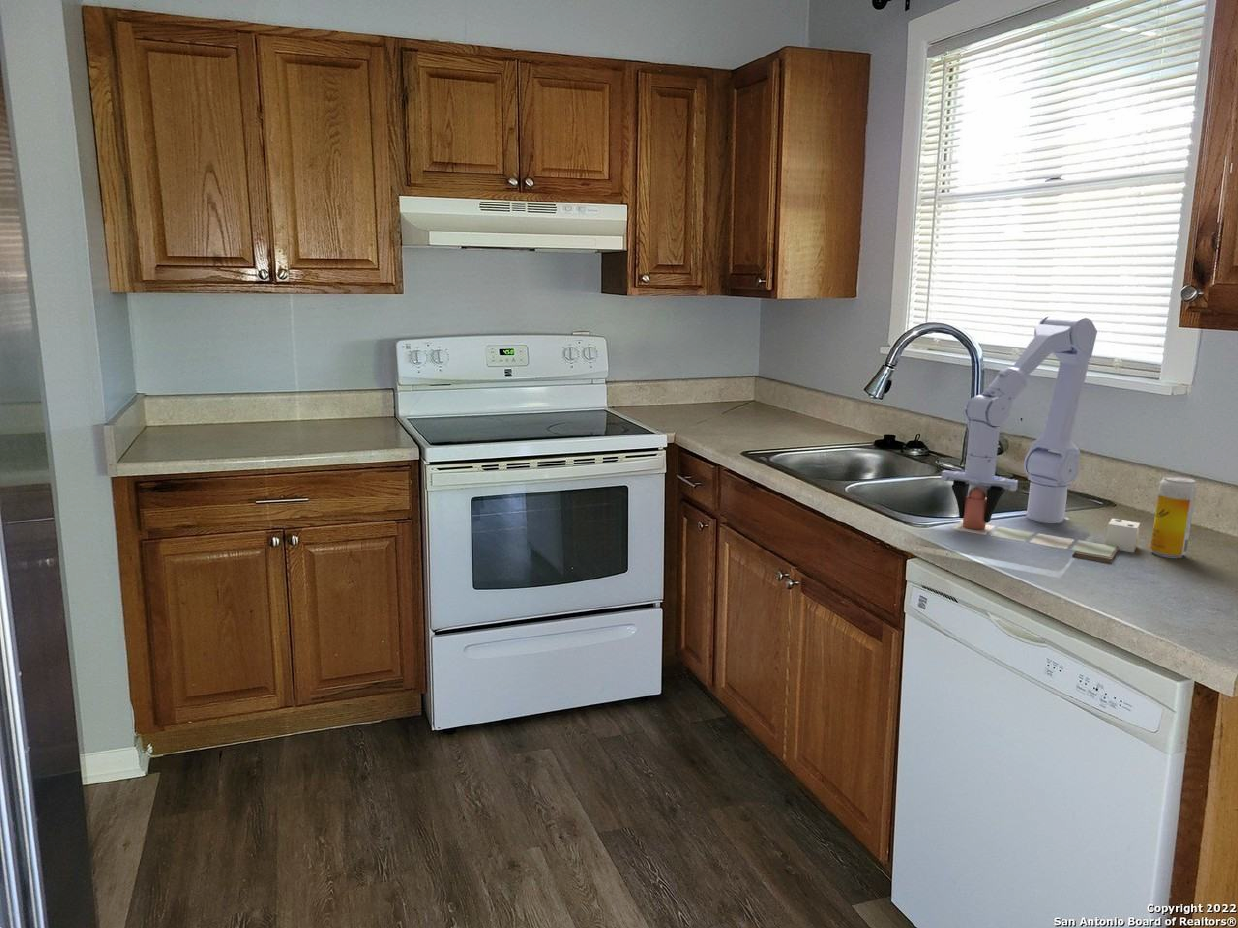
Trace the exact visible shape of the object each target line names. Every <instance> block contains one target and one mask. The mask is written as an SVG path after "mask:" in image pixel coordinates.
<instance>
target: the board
mask: <svg viewBox="0 0 1238 928" xmlns="http://www.w3.org/2000/svg"><path fill="white" fill-rule="evenodd" d="M996 527H997V526H996V525H993V524H992V525H991V524H988V523H986V526H985V528H984V529H972V528H967V527H965V526H963V519H962V520H961V521H959V522H958V523H957V524H955V525H954V526H953V527H951V528H950V529H951V530H955V531H961V532H967V533H972V534H973V533H974V534H978V535H982V536H983V535H988V534H989V533H990V532H991V531H992V530H993V529H995V528H996ZM1034 534H1035V532H1033V531H1029V530H1028V531H1027V530H1021V529H1015V528H1009V527H1004V526H998V527H997V528H996V529H995V530H994V531H992V532H991V534H989V535H988V536H989V537H995V538H1001V539H1007V540H1011V541H1012V540H1013V541H1018V542H1024V543H1026V542H1027V541H1028V540H1029V538H1031V537H1032V536H1033V535H1034ZM1074 541H1075V539H1072V538H1067V537H1062V536H1056V535H1051V534H1045V533H1039V532H1038V533H1037V534H1036V535H1035V536H1034V537H1033V538H1032V539H1031V540H1030V541H1029V542H1028V543H1029V544H1034V545H1040V546H1046V547H1052V548H1056V549H1057V548H1058V549H1062V550H1063V549H1064V550H1067V549H1068V548H1069V547H1070V546H1071V545H1072V543H1074ZM1070 551H1074V553H1073V554H1072V555H1071V557H1074V558H1080V559H1085V560H1091V561H1095V562H1096V561H1097V562H1101V563H1107V564H1112V562H1113V561H1114V559H1115V558H1116V556H1117V554H1118V553H1119V551H1120V550H1119V547H1116V546H1110V545H1105V544H1104V543H1097V542H1091V541H1086V540H1080V539H1078V540H1077V541H1076V542H1075V544H1074V545H1073V546H1072V548H1071V549H1070Z"/></svg>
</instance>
